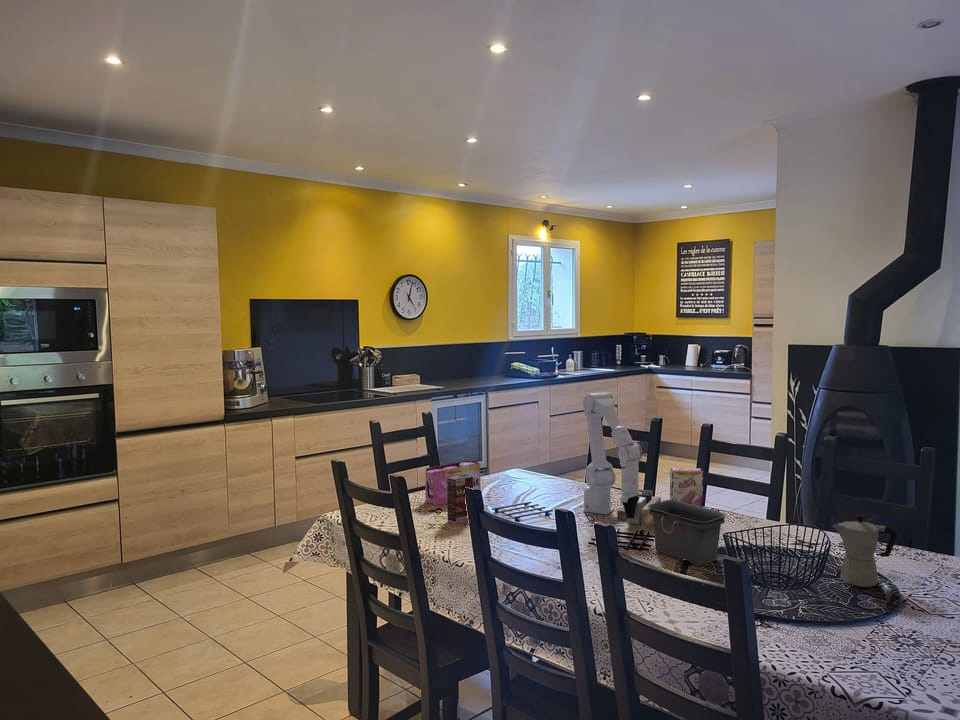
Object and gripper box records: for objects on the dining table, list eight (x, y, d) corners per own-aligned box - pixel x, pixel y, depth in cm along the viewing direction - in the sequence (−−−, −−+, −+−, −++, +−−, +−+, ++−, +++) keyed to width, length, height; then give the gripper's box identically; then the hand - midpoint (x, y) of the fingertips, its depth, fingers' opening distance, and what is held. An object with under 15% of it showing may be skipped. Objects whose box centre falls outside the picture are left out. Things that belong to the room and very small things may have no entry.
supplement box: (455, 524, 242) (454, 480, 241) (447, 521, 245) (446, 477, 244) (474, 519, 247) (473, 476, 246) (465, 516, 251) (464, 474, 250)
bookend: (635, 514, 251) (635, 489, 251) (637, 511, 254) (637, 487, 253) (651, 516, 248) (651, 491, 248) (653, 513, 251) (653, 489, 251)
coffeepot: (833, 584, 184) (834, 517, 183) (829, 571, 193) (831, 508, 192) (900, 591, 178) (901, 523, 177) (893, 578, 187) (894, 513, 186)
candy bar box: (671, 515, 249) (671, 470, 248) (669, 511, 254) (669, 467, 253) (703, 515, 248) (703, 470, 247) (700, 511, 253) (700, 467, 252)
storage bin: (730, 561, 202) (731, 513, 201) (698, 573, 193) (698, 523, 192) (671, 542, 219) (671, 498, 218) (639, 553, 210) (639, 507, 209)
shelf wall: (641, 529, 233) (641, 508, 233) (655, 515, 249) (655, 496, 249) (647, 530, 232) (647, 509, 232) (660, 516, 248) (660, 496, 248)
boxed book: (627, 522, 241) (627, 502, 241) (635, 515, 250) (635, 496, 249) (638, 524, 239) (638, 504, 239) (646, 516, 248) (646, 497, 247)
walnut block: (617, 518, 246) (617, 510, 245) (622, 514, 251) (622, 506, 251) (625, 520, 244) (625, 511, 244) (630, 515, 249) (630, 507, 249)
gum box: (434, 506, 266) (433, 471, 265) (422, 502, 272) (421, 468, 271) (481, 495, 281) (480, 462, 280) (468, 492, 287) (468, 459, 286)
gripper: (635, 484, 229) (635, 525, 230) (647, 475, 242) (647, 513, 243) (614, 482, 233) (615, 522, 234) (627, 473, 245) (627, 511, 246)
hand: (630, 517), depth 239 cm, fingers closed
